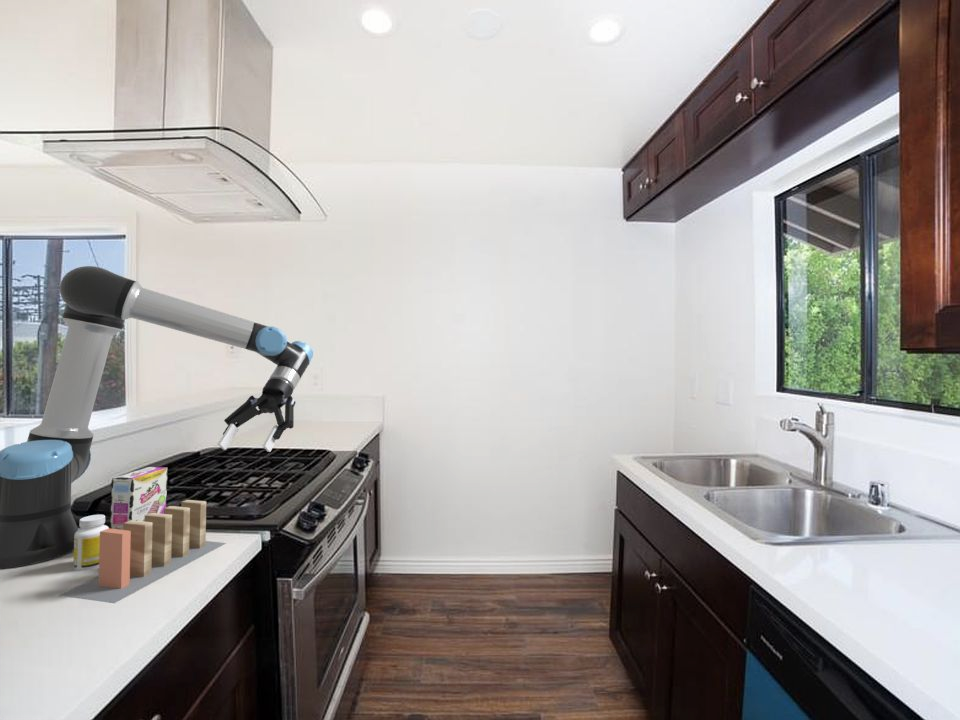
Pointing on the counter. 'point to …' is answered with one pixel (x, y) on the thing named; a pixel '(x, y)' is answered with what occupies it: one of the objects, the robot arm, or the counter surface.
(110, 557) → the domino
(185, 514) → the domino
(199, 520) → the domino
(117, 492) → the candy bar box
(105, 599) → the mat
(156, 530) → the domino
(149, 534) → the domino
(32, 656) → the counter surface
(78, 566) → the supplement bottle
